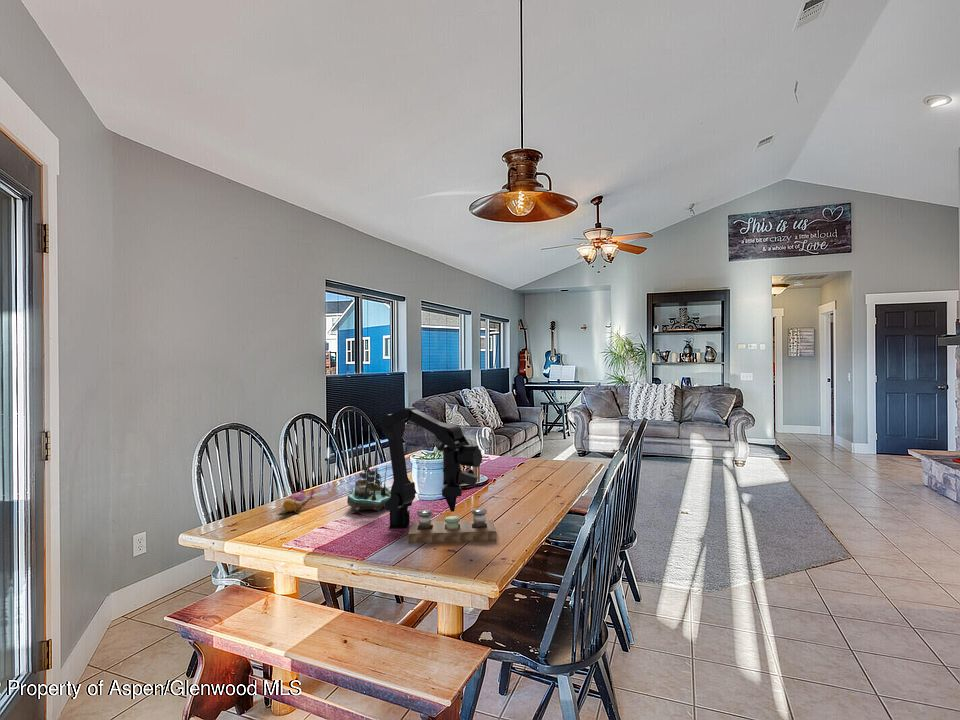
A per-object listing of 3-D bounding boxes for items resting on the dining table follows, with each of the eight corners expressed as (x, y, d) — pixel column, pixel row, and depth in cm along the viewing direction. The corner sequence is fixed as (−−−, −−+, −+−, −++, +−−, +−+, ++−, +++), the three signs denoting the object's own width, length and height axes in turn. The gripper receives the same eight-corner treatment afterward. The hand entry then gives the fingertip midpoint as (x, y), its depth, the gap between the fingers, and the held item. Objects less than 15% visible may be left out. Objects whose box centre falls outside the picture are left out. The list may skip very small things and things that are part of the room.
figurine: (321, 486, 229) (301, 499, 199) (321, 502, 228) (301, 517, 199) (293, 487, 229) (269, 499, 199) (293, 503, 228) (269, 518, 198)
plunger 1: (417, 528, 173) (416, 514, 173) (418, 523, 178) (418, 509, 178) (432, 528, 173) (432, 513, 173) (433, 523, 178) (432, 509, 178)
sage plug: (444, 535, 173) (444, 520, 173) (445, 530, 178) (444, 516, 178) (460, 534, 173) (459, 520, 173) (460, 529, 178) (459, 515, 178)
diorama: (343, 514, 200) (347, 464, 200) (354, 498, 225) (359, 453, 225) (393, 518, 201) (397, 467, 201) (399, 501, 226) (403, 456, 226)
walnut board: (408, 543, 169) (408, 533, 169) (411, 530, 181) (411, 522, 181) (495, 540, 170) (495, 531, 170) (493, 528, 182) (493, 519, 182)
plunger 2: (472, 527, 173) (471, 512, 173) (471, 522, 178) (471, 508, 178) (487, 526, 174) (487, 512, 174) (486, 522, 179) (486, 508, 179)
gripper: (477, 469, 166) (477, 519, 166) (475, 458, 185) (475, 503, 185) (441, 470, 166) (442, 520, 166) (443, 459, 185) (444, 503, 185)
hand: (452, 511), depth 175 cm, fingers closed
